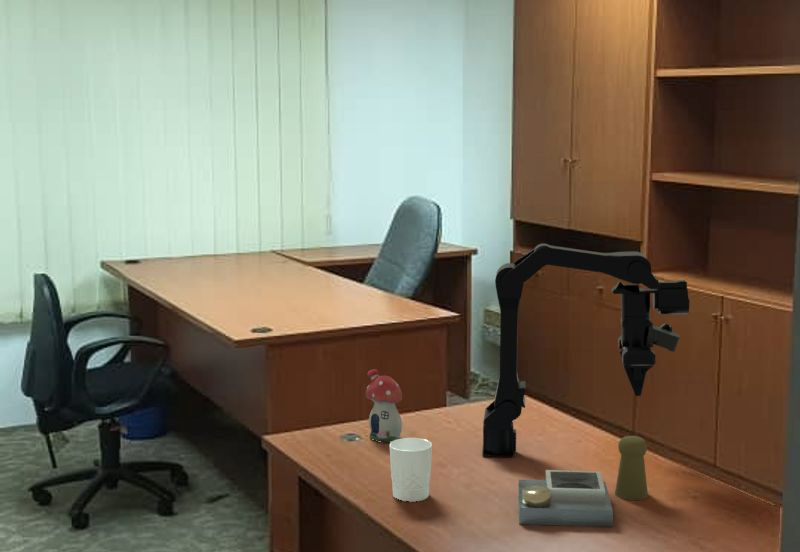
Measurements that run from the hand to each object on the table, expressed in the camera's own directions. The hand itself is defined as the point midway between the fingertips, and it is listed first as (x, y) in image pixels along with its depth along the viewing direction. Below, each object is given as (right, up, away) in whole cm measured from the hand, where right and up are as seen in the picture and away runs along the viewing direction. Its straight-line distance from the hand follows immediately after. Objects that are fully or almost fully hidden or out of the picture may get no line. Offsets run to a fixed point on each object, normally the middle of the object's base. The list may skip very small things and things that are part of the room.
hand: (636, 390), depth 216 cm
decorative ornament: (-52, -12, +17) cm, 56 cm away
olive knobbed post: (-5, -18, -18) cm, 26 cm away
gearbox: (-19, -19, -25) cm, 37 cm away
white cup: (-46, -18, -18) cm, 53 cm away
